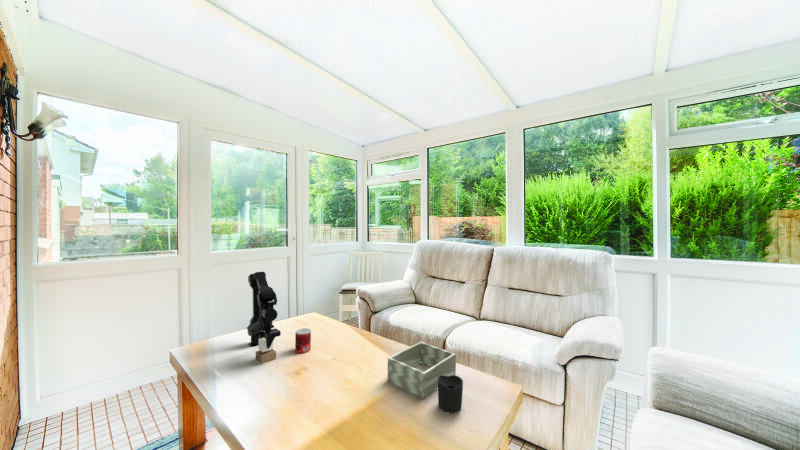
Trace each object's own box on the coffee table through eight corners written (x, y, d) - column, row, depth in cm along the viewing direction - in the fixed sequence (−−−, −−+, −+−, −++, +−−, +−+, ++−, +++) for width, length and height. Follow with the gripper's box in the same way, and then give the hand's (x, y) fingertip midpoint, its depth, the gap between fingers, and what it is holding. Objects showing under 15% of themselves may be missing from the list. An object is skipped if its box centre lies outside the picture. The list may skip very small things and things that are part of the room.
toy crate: (387, 380, 129) (387, 357, 129) (420, 361, 147) (420, 341, 147) (423, 399, 116) (424, 373, 116) (455, 375, 134) (455, 353, 134)
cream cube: (258, 349, 145) (258, 339, 145) (268, 346, 149) (268, 336, 149) (262, 352, 142) (263, 341, 142) (273, 348, 146) (273, 338, 146)
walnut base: (255, 359, 145) (255, 351, 145) (269, 355, 151) (269, 347, 151) (261, 364, 141) (261, 356, 141) (275, 359, 146) (276, 351, 146)
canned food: (312, 348, 160) (313, 328, 160) (306, 355, 152) (307, 334, 152) (299, 347, 161) (299, 327, 161) (292, 354, 153) (292, 333, 153)
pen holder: (445, 396, 118) (445, 371, 118) (466, 405, 112) (467, 379, 112) (432, 407, 111) (433, 380, 111) (454, 418, 105) (455, 390, 105)
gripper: (241, 315, 146) (241, 346, 146) (257, 324, 133) (257, 358, 133) (264, 310, 154) (263, 339, 154) (281, 318, 142) (280, 350, 142)
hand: (265, 346), depth 146 cm, fingers closed on cream cube, 5 cm apart
